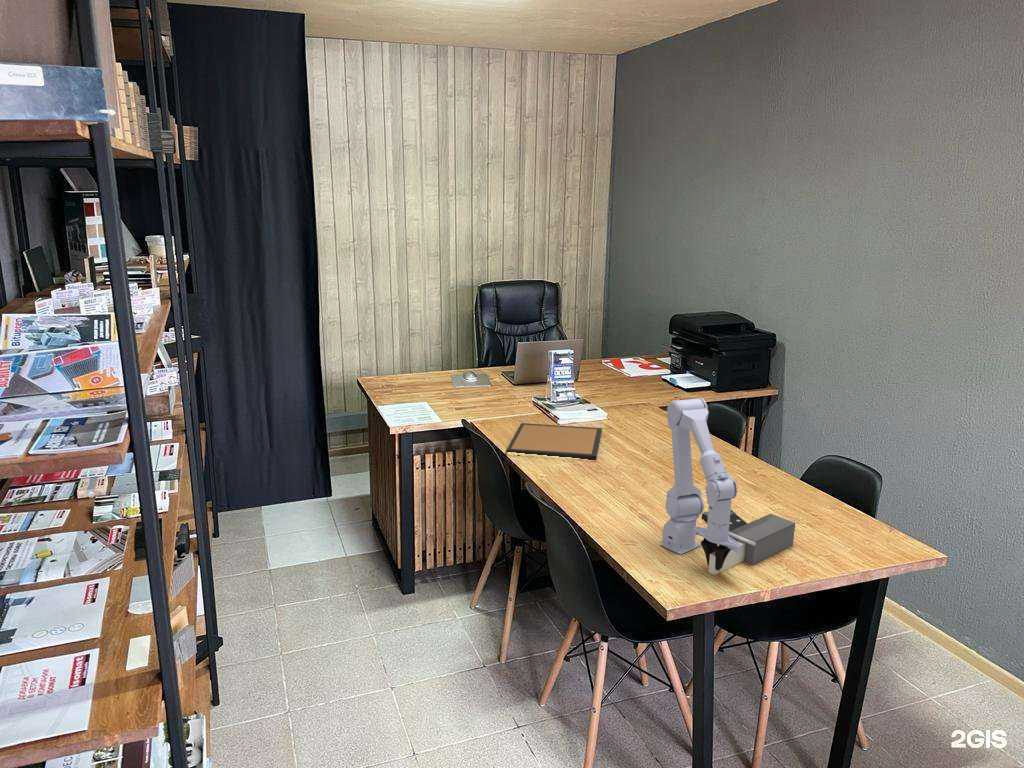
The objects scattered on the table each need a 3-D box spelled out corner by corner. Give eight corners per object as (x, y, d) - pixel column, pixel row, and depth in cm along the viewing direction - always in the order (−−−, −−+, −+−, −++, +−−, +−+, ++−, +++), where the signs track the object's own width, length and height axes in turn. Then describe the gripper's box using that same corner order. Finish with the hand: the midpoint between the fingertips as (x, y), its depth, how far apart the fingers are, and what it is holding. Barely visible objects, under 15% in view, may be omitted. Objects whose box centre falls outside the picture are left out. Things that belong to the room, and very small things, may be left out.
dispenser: (751, 566, 209) (753, 542, 207) (725, 554, 215) (727, 531, 213) (793, 545, 221) (796, 523, 219) (767, 535, 228) (770, 513, 226)
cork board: (506, 456, 295) (596, 462, 289) (506, 449, 294) (596, 455, 288) (521, 429, 329) (601, 434, 323) (521, 423, 328) (602, 428, 322)
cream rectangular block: (714, 575, 204) (716, 556, 202) (708, 572, 205) (709, 553, 204) (749, 558, 213) (750, 540, 212) (743, 555, 215) (744, 537, 213)
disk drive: (753, 537, 228) (730, 516, 242) (754, 528, 227) (731, 508, 241) (722, 540, 226) (700, 519, 240) (722, 531, 225) (701, 511, 239)
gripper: (750, 526, 198) (746, 572, 202) (705, 508, 209) (702, 552, 213) (734, 533, 194) (730, 580, 197) (689, 514, 205) (686, 560, 208)
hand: (714, 566), depth 205 cm, fingers closed on cream rectangular block, 2 cm apart
